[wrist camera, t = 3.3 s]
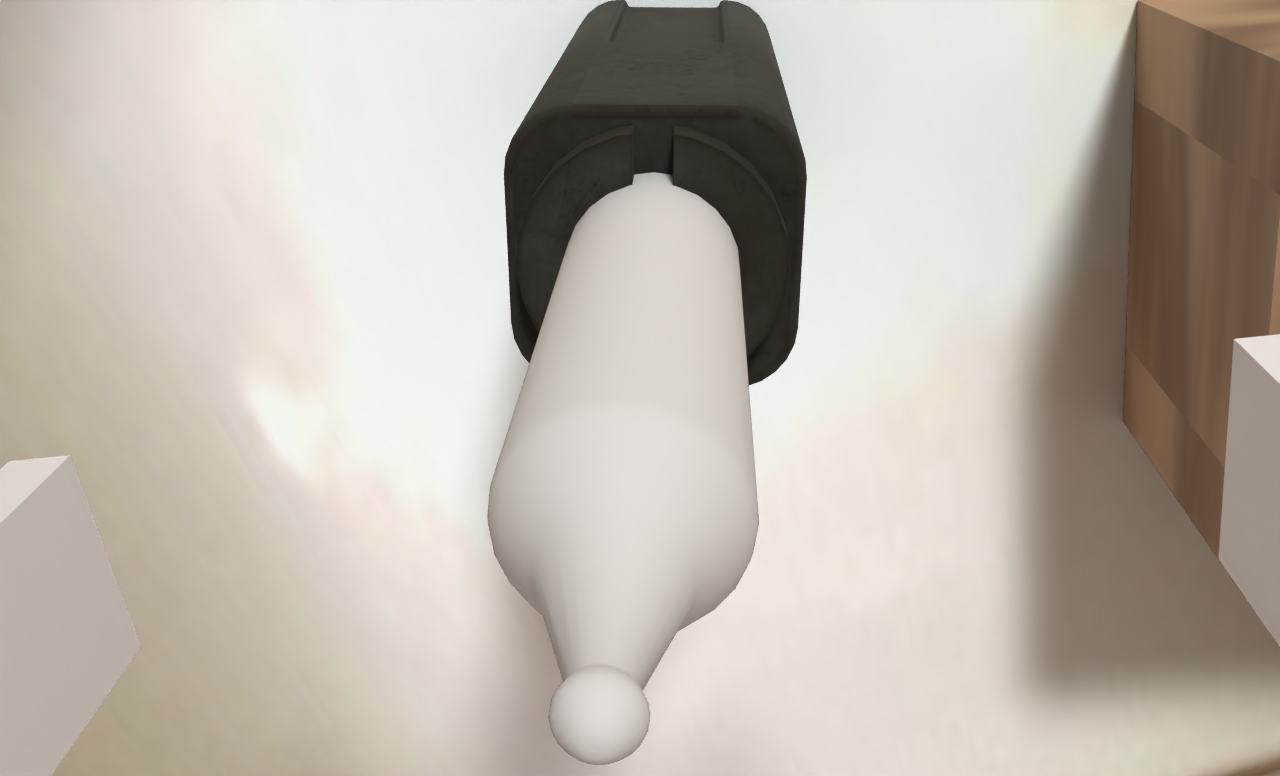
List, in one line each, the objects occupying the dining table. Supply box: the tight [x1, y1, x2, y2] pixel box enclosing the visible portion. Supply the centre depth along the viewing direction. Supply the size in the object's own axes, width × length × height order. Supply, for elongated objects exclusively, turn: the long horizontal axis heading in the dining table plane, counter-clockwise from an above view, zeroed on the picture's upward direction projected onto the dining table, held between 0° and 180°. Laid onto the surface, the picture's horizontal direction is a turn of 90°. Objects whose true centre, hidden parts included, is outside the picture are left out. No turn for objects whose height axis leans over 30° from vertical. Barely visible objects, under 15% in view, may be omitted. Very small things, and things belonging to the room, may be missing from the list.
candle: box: [488, 0, 807, 765], centre depth 21 cm, size 5×5×25 cm
